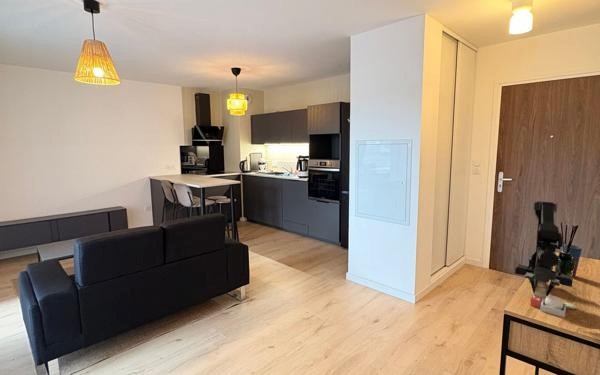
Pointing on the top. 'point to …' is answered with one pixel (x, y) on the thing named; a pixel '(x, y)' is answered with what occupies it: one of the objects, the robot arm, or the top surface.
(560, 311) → the game board
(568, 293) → the top surface
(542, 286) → the pawn
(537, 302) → the red die
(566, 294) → the top surface
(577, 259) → the cup
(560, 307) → the white ball
